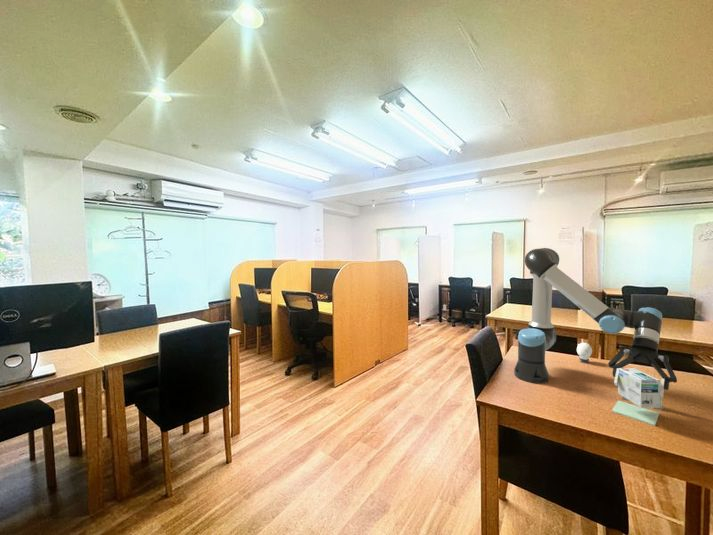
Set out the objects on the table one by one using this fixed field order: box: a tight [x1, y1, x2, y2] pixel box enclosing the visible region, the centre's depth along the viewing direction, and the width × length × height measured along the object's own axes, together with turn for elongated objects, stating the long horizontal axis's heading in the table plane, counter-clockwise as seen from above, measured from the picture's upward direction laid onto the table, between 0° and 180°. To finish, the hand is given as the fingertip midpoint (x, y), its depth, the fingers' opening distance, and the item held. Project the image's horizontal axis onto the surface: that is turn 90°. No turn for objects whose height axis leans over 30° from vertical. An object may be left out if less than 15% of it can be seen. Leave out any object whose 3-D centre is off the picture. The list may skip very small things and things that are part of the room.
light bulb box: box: [617, 367, 661, 409], centre depth 111 cm, size 11×7×11 cm, turn 175°
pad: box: [611, 400, 660, 426], centre depth 113 cm, size 12×11×1 cm
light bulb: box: [576, 342, 593, 364], centre depth 161 cm, size 7×7×11 cm
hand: (637, 390), depth 110 cm, fingers closed on light bulb box, 12 cm apart
